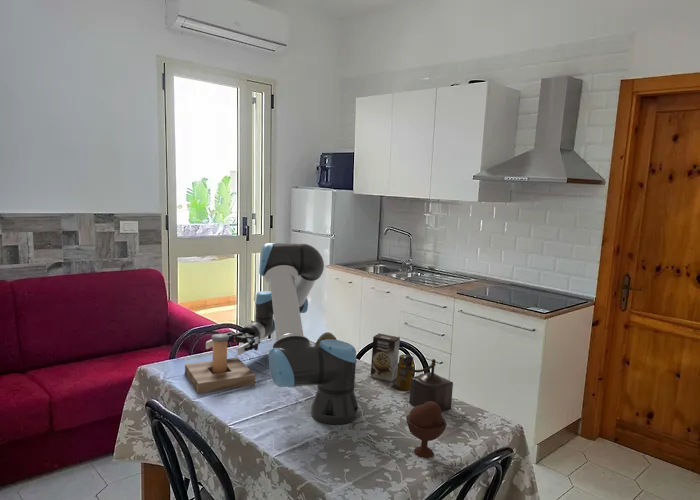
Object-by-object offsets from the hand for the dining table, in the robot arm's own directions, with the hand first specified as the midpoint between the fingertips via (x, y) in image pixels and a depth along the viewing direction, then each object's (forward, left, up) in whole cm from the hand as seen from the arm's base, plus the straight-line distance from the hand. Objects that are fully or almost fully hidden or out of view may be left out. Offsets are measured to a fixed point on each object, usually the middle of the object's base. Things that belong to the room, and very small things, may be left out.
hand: (222, 348), depth 178 cm
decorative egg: (-8, -40, -11) cm, 42 cm away
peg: (-2, +1, -11) cm, 11 cm away
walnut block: (-2, +1, -11) cm, 11 cm away
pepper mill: (-52, -54, -11) cm, 75 cm away
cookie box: (-24, -57, -11) cm, 62 cm away
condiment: (-36, -57, -11) cm, 68 cm away
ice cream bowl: (-75, -35, -11) cm, 83 cm away
